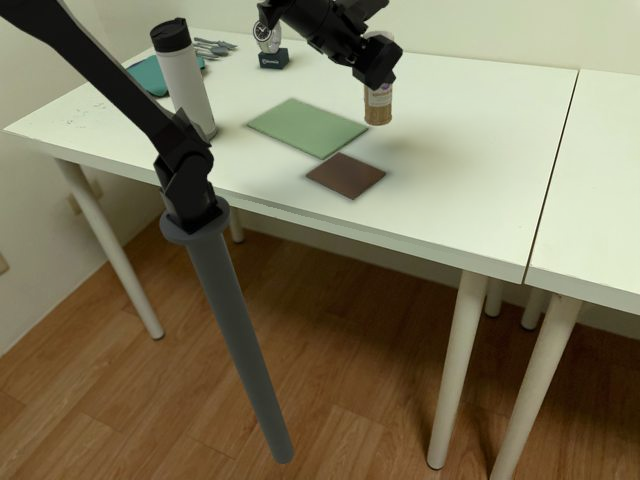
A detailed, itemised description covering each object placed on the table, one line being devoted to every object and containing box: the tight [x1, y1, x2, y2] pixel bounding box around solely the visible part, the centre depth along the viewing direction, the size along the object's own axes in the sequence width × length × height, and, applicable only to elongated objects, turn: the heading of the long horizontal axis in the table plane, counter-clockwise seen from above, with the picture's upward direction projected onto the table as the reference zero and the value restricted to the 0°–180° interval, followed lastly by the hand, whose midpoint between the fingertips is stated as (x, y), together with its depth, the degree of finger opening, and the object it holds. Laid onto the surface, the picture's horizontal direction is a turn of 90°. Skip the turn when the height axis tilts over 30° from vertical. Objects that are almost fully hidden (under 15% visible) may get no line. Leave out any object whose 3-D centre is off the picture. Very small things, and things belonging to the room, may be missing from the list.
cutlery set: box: [125, 36, 238, 97], centre depth 111 cm, size 20×30×2 cm, turn 147°
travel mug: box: [149, 16, 218, 141], centre depth 82 cm, size 6×7×20 cm
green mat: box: [246, 98, 369, 161], centre depth 86 cm, size 12×20×1 cm, turn 46°
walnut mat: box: [305, 151, 387, 200], centre depth 74 cm, size 8×10×1 cm
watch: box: [252, 17, 290, 70], centre depth 105 cm, size 6×8×11 cm
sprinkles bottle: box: [362, 29, 395, 127], centre depth 71 cm, size 5×5×14 cm
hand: (385, 75), depth 71 cm, fingers closed on sprinkles bottle, 4 cm apart
